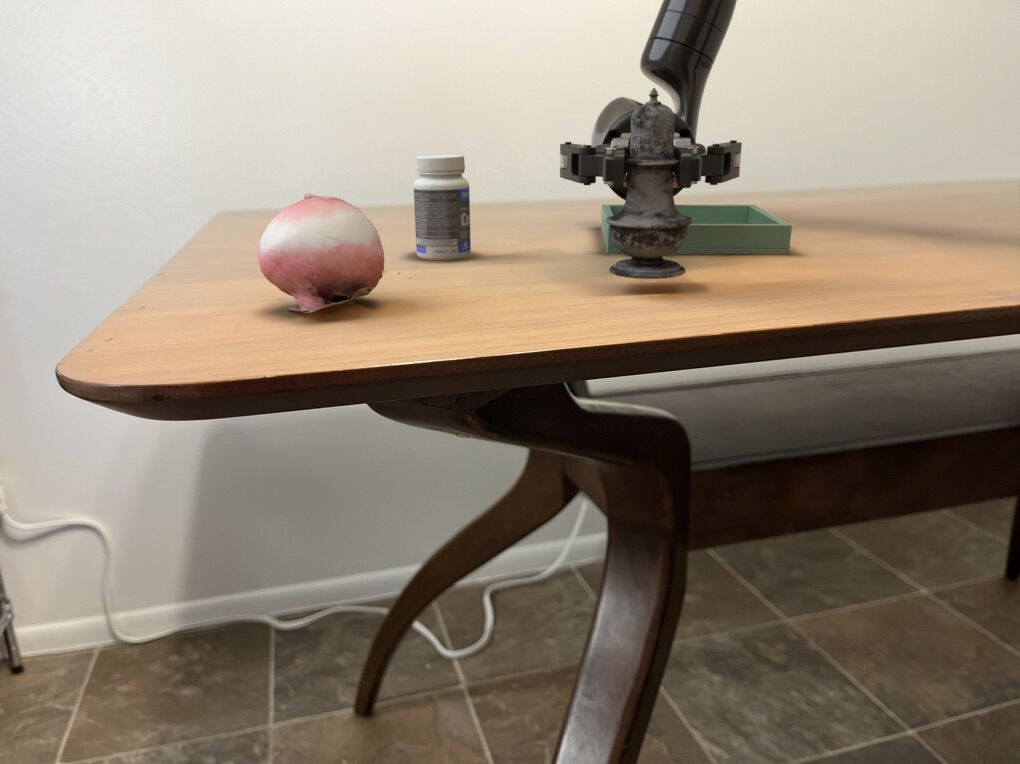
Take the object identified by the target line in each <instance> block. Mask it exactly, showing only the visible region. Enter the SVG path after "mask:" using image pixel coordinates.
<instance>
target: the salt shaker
mask: <svg viewBox="0 0 1020 764" xmlns="http://www.w3.org/2000/svg"><path fill="white" fill-rule="evenodd" d="M656 89H657V88H656V87H653V88H652V90H650V92H649V94H648V96H649V97H650V98H649V101H646V102H645V103H644V104H645V105H642V106H640V107H638V108H637V109H636V110H635V111H634V112H633V114H632V117H631V140H630V158H629V159H627V160H626V161H625V162H624V163H625V164H627V166H628V167H629V168H628V193H627V197H626V200H624V201H625V202H624V204H623V205H624V208H623V209H622V210H621V211H620V212H619V213H617V214H616V215H613V216H609V217H608V218H606V223H607V224H610V234H611V237H612V240H613V242H614V245H615V246H616V247H617V248H618V250H619V251H620V252H622V253H621V254H623V255H626V256H628V257H630V258H625V259H621V260H618V261H616V262H615V263H614V264H612V265H610V267H609V268H608V273H610V274H611V275H614V276H617V277H623V278H628V279H641V280H642V279H643V280H659V279H661V280H662V279H669V278H676V277H680V276H683V275H685V274H686V272H687V271H686V270H687V269H686V268H685V267H684V266H682V265H681V264H680V263H679V262H677V261H675V260H671V259H666V258H665V257H668V256H671V255H674V254H673V253H675V252H676V251H677V250H678V249H679V248H680V247H681V246H682V245H683V243H684V240H685V238H686V236H687V232H688V225H690V224H691V223H692V222H693V219H692V218H691V217H688V216H684V215H682V214H681V213H680V212H679V211H678V210H677V209H676V207H675V205H676V203H675V199H674V197H673V172H674V166H675V165H676V164H678V160H676V159H675V158H673V147H674V126H675V116H674V110H673V109H672V108H670V107H669V106H668V105H666V104H663V103H662V102H661V101H659V100H658V97H659V96H660V93H658V90H656Z"/></svg>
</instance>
